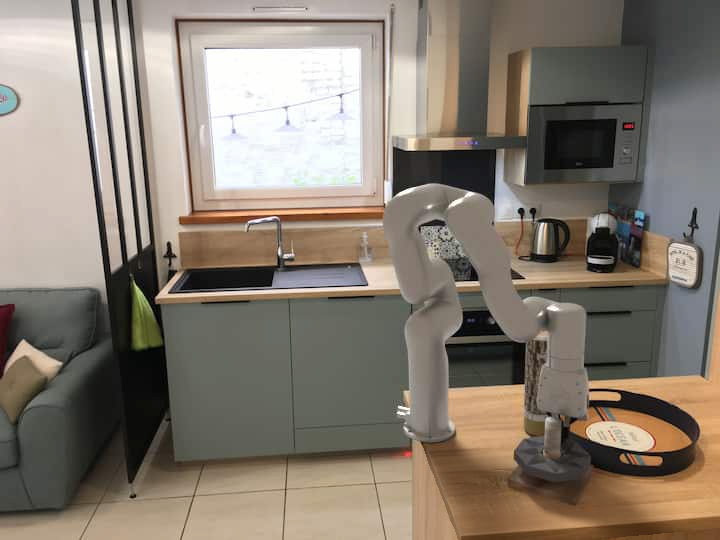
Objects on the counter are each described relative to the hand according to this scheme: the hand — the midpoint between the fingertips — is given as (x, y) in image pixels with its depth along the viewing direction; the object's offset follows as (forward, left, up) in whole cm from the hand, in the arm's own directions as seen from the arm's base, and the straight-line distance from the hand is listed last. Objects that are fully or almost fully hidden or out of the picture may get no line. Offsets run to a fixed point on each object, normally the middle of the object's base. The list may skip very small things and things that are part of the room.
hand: (561, 439), depth 140 cm
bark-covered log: (-9, +12, -6) cm, 17 cm away
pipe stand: (0, -7, -6) cm, 9 cm away
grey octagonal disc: (0, -7, -2) cm, 7 cm away
